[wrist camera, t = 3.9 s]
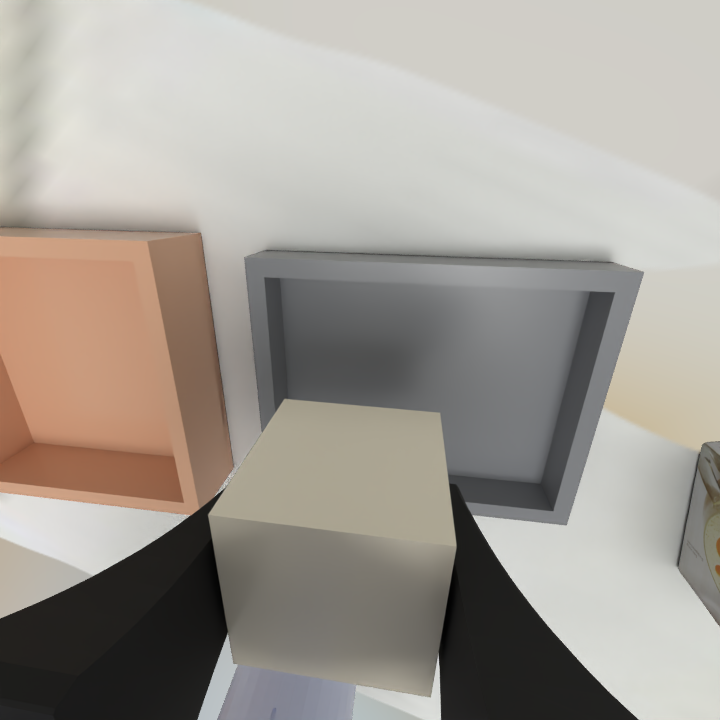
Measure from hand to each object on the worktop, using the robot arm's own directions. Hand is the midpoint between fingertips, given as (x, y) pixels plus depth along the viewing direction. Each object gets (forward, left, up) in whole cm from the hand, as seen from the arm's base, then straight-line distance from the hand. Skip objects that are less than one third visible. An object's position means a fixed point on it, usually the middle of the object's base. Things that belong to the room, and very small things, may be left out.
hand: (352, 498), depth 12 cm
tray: (0, -2, -9) cm, 9 cm away
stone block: (0, 0, -1) cm, 1 cm away
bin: (0, +16, -9) cm, 18 cm away
